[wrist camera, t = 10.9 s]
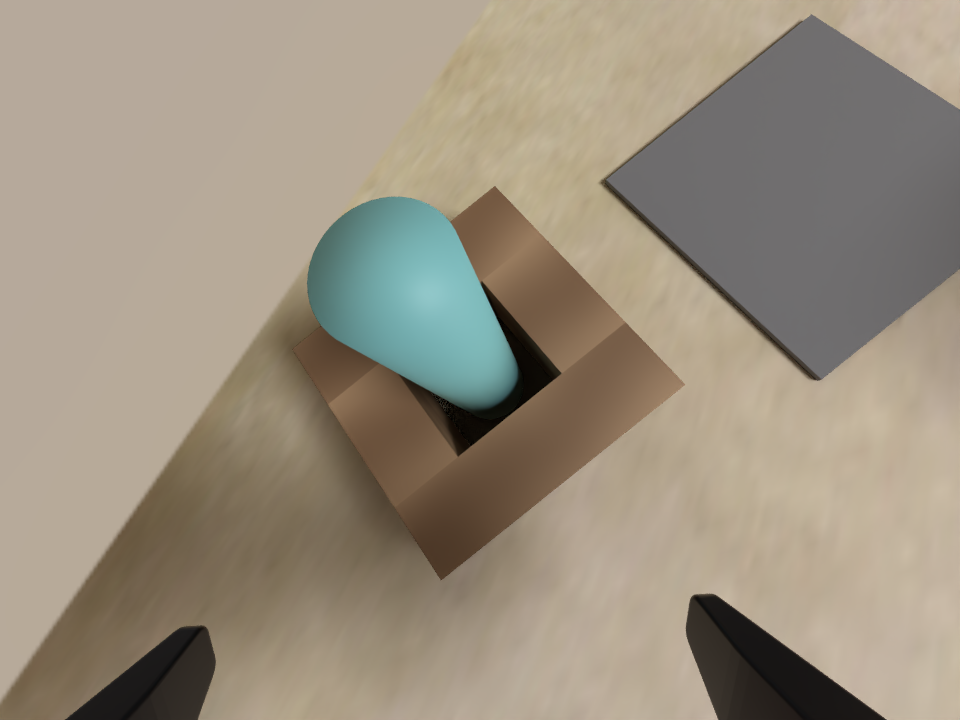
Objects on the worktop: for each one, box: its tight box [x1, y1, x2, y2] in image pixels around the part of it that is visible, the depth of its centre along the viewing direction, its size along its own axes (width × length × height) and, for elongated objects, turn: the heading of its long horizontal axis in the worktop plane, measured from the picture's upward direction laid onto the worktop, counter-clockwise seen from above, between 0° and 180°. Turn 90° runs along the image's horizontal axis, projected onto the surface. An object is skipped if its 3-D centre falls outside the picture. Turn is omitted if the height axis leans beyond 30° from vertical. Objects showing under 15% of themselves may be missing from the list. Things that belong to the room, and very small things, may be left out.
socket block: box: [292, 186, 685, 580], centre depth 18 cm, size 10×10×4 cm
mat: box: [605, 14, 960, 381], centre depth 19 cm, size 12×12×1 cm
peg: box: [307, 197, 524, 419], centre depth 14 cm, size 3×3×12 cm
